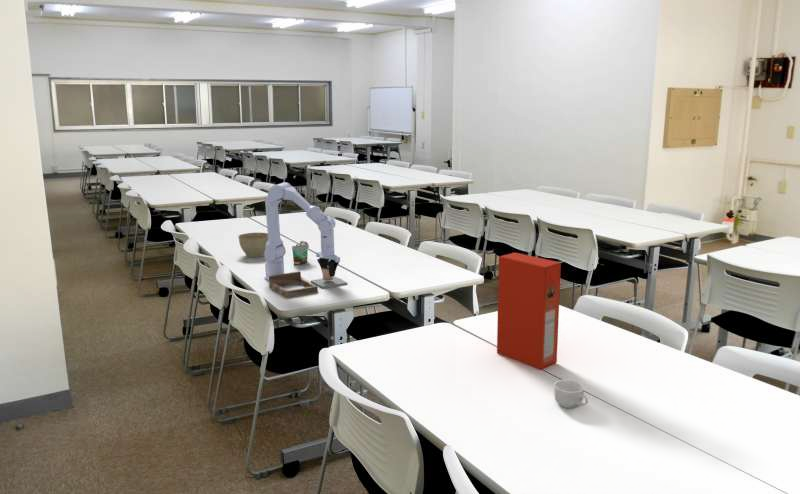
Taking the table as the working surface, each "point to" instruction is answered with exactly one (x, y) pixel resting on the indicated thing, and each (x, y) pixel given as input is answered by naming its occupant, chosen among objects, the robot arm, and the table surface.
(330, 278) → the clay pot
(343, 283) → the potting mat
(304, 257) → the food container
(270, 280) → the frame
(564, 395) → the teacup
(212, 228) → the table surface
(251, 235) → the planter bowl
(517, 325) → the file binder
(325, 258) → the robot arm
